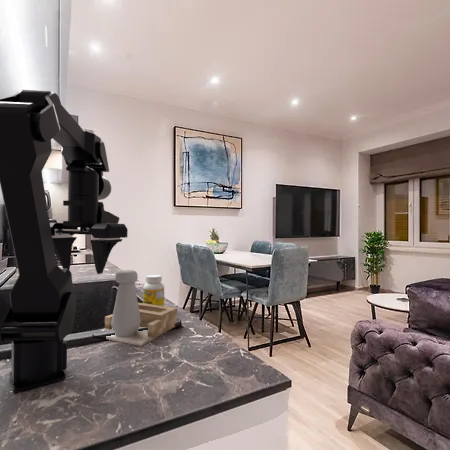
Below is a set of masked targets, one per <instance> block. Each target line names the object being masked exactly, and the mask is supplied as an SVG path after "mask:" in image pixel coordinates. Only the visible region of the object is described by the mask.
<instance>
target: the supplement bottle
mask: <svg viewBox="0 0 450 450" xmlns="http://www.w3.org/2000/svg"><path fill="white" fill-rule="evenodd" d="M162 277H163V276H162V275H160V274H148V275H145V282H146V283H145V284H144V285H143V287H142V289H143V290H142V291H143V293H142V295H143V296H142V303H144V304H151V305H158V306H165V285H164V283H163V282H162V279H163V278H162Z"/></svg>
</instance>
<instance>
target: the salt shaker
mask: <svg viewBox="0 0 450 450" xmlns="http://www.w3.org/2000/svg"><path fill="white" fill-rule="evenodd" d="M138 277H139V276H138V272H137V271H136V270H133V269H121V270H118V271H117V272H116V273H115V278H114V279H115V282H116V283H117V284H118V288H117V291H116V292H117V293H116V297H115V302H114V307H113V311H112V314H113V316H112V321H111V326H112V328H113V330H114V332H115V335H116V336H118V337H123V338H124V337H130V336H133V335H135V334H136V333H137V331H138V328H139V326H140V324H141V317H140V312H139V306H138V303H139V301H138V296H137V290H136V285H135V283H136V282H137V281H138Z"/></svg>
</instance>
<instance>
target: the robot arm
mask: <svg viewBox="0 0 450 450" xmlns="http://www.w3.org/2000/svg"><path fill="white" fill-rule="evenodd" d="M52 139H53V140H54V141H55V142H56V143H57V144H58V145H59V146H60V153H61V155H62V156H63V159H64V162H65V165H66V167H65V170H66V171H68V178H67V179H68V181H67V184H68V185H67V189H68V190H67V192H68V193H67V199H66V200H62V201H63V204H62V206H63V207H64V206H66V207H67V220H63V221H62V222H50V216H49V210H48V209H49V208H48V204H47V198H46V196H47V195H46V191H45V185H44V179H43V170H44V168H45V167H46V166H45V165H46V163H47V162H48V160H49V158H50V156H51V154H52V152H53V151H52ZM108 172H110V168H109V161H108V157H107V151H106V146H105V142H104V141H102V138H101V137H100V136H99V135H98V134H96V133H95V132H92V131H89V130H85V129H83V128H82V127H81V126H80V125H79V123H78V122H77V121H76V120H75V118H73V116H72V115H71V114H70V113H69V112H68V111H67V109H66V108H65V107H64V106H63V105H62V102H61V99H60V96H59V95H58V93H56V92H52V91H51V90H41V89H40V90H37V89H22V90H21V91H17V92H15V93H14V94H12V95H7V96H4V97H0V190H1V195H2V199H3V204H4V209H5V214H6V218H7V222H8V227H9V233H10V238H11V242H12V247H13V251H14V252H13V253H14V257H15V262H16V266H17V271H18V277H17V279H16V280H15V283H14V284H13V286H12V288H11V289H10V292H9V300H10V301H9V304H8V306H7V307H6V309H5V311H4V314H3V315H2V318H1V320H0V343H4V342H11V371H10V372H9V379H10V384H11V389H12V392H13V393H18V392H22V391H26V390H30V389H33V388H37V387H41V386H44V385H47V384H48V385H49V384H51V383H55V382H56V383H57V382H58V381H59V382H60V381H62V380H65V379H66V378H67V377H66V376H67V375H66V372H65V371H66V370H67V368H68V343H67V342H66V340H65V338H66V337H67V336H68V335H69V334H71V333H72V332H73V330H74V326H75V325H74V324H75V317H76V309H77V302H78V301H77V300H78V297H77V294H76V292H75V286H74V283H73V277H72V276H73V273H72V272H71V261H72V249H73V247H72V246H73V244H74V242H75V241H76V240H77V238H78V237H77V236H75V235H87V236H88V235H89V236H92V237H93V238H94V239H90V241H89V242H90V245H91V250H92V256H93V263H94V268H95V271H96V274H97V275H100V274H103V272H104V269H105V267H106V264H107V262H108V259H109V256H110V254H111V252H112V250H113V248H114V247H116V245H117V244H118V243H121V242H122V241H123V238H128V232H129V231H128V227H127V226H126V225H125V223H119V222H120V217H119V216H117V215H115V214H114V213H111V212H109V211H107V210H105V204H104V202H103V201H102V200H105V199H107V198H108V197H109V196H110V194H111V193H112V185H111V181H109V179H107V177H105V176H104V173H108ZM56 259H57V260H58V262H59V263H60V266H61V267H62V268H61V267H60V266H59V265H58V264H57V260H56ZM53 323H54V324H55V325H53ZM23 324H44V325H23ZM45 324H46V325H45ZM47 324H48V325H47ZM49 324H51V325H49Z"/></svg>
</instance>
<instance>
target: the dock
mask: <svg viewBox="0 0 450 450" xmlns="http://www.w3.org/2000/svg"><path fill="white" fill-rule="evenodd" d="M138 306H139V312H140V317H141V324H140V327H148V330H143V331H137V333H136V334H135V335H133V336H130V337H124V338H123V337H118V336H116V335H111V336H106V340H108V341H109V340H110V341H114V342H119V343H125V344H129V345H132V346H133V345H134V346H139V347H143V346H144V345H146V344H147V343H149V342H151V341H153V340H155V339H156V338H158V337H161V336H162V335H163V334H164V333H166V332H168V331H170V330H172V329H173V328H176V326H175V324H176V322H177V323H178V307H171V306H166V305H164V306H158V305H151V304H144V303H143V302H138ZM112 316H113V313H111V314H108V315H106V316H104V328H102V329H101V330H102V331H104V330H106V329H107V331H109V330H111V329H112V326H111V321H112Z"/></svg>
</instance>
